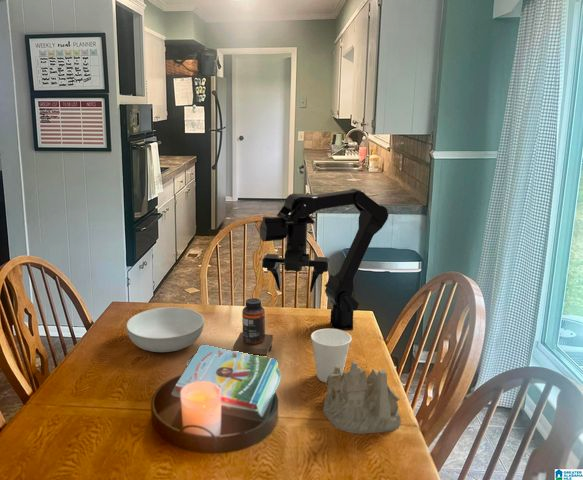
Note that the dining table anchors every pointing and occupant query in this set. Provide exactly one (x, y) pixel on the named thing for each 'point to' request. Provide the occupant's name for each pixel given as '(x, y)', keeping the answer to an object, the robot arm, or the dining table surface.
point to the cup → (329, 350)
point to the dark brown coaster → (254, 345)
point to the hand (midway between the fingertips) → (295, 290)
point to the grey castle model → (361, 401)
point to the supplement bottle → (253, 322)
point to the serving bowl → (165, 328)
